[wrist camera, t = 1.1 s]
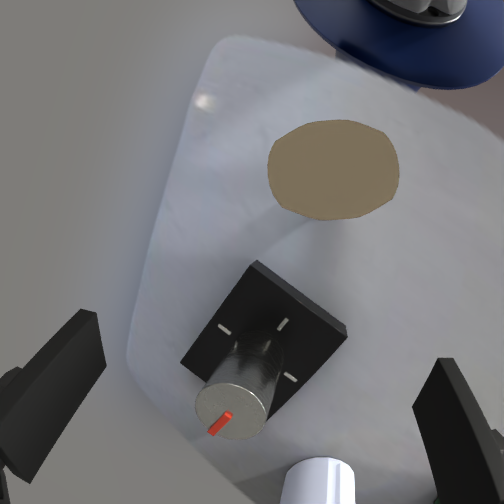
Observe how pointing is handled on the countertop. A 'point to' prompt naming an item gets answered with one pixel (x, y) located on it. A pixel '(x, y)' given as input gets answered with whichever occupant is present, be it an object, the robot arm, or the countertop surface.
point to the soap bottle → (319, 483)
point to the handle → (333, 170)
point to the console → (269, 330)
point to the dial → (242, 387)
